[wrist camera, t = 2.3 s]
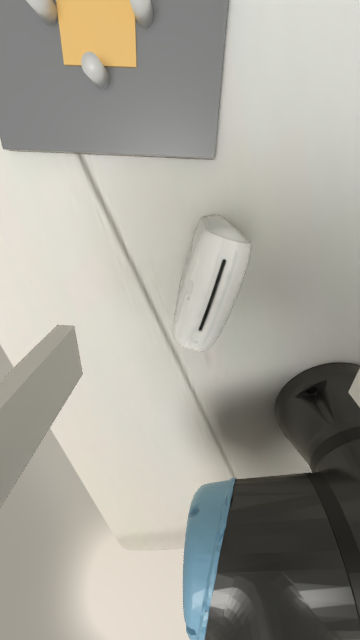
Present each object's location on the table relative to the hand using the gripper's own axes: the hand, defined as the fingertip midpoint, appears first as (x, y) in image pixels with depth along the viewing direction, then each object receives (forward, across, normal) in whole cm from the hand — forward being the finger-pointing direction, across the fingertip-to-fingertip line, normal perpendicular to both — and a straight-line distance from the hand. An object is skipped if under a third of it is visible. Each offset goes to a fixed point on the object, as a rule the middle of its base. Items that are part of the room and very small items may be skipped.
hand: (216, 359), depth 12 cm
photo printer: (+19, 0, 0) cm, 19 cm away
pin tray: (+19, +10, -22) cm, 31 cm away
